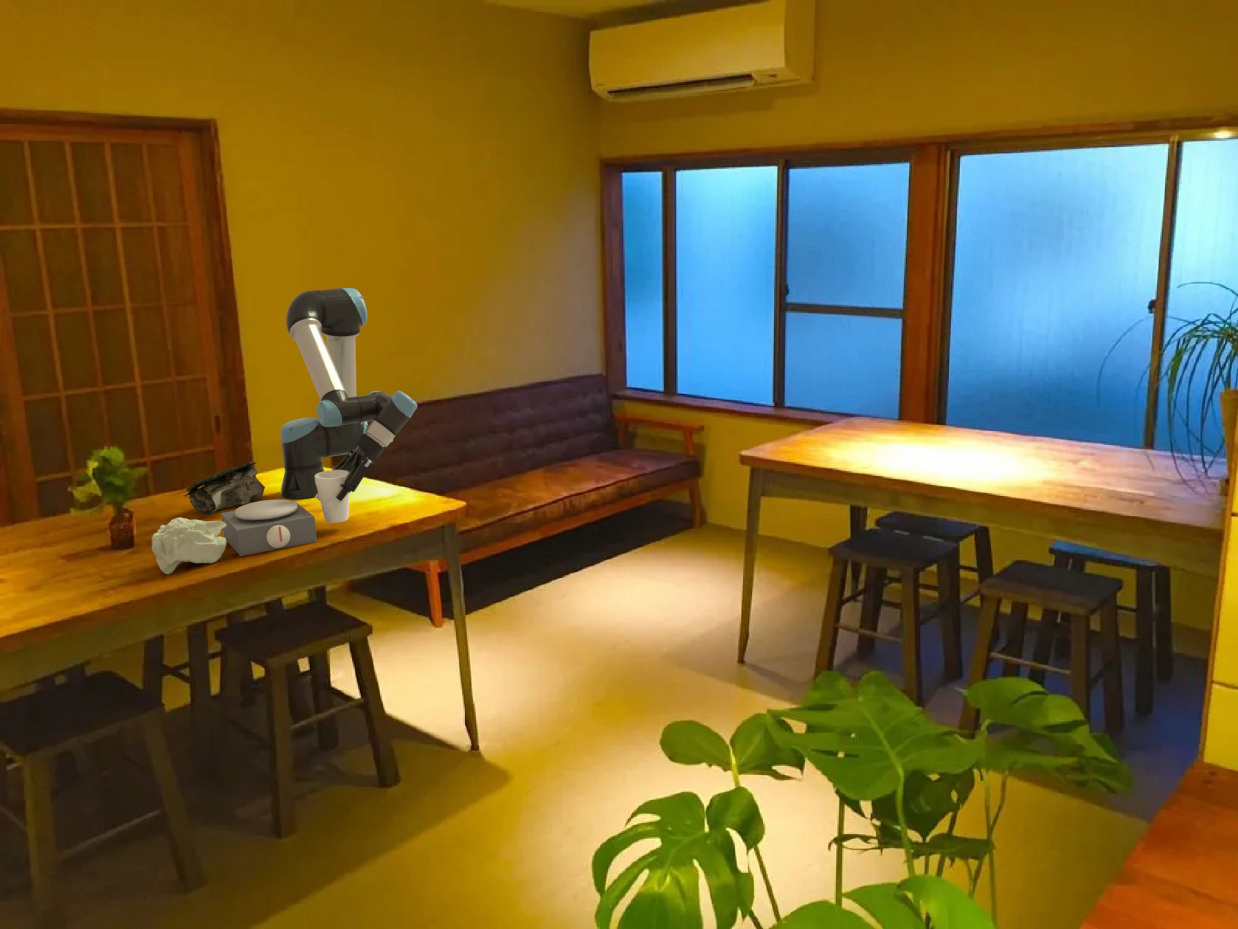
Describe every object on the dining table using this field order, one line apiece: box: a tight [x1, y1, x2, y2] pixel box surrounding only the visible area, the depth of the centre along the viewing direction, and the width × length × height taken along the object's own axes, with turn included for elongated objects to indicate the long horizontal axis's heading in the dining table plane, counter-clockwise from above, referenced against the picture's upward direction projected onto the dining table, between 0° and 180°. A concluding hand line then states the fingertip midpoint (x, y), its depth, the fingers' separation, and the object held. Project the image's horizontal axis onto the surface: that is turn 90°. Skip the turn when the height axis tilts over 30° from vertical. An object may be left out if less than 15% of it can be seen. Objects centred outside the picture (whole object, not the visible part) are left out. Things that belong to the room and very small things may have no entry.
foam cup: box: [315, 469, 351, 524], centre depth 285 cm, size 10×9×13 cm
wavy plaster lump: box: [151, 516, 228, 575], centre depth 259 cm, size 18×13×16 cm
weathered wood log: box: [183, 460, 266, 516], centre depth 313 cm, size 28×13×15 cm
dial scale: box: [220, 499, 318, 557], centre depth 279 cm, size 21×20×9 cm
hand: (324, 504), depth 284 cm, fingers closed on foam cup, 9 cm apart
